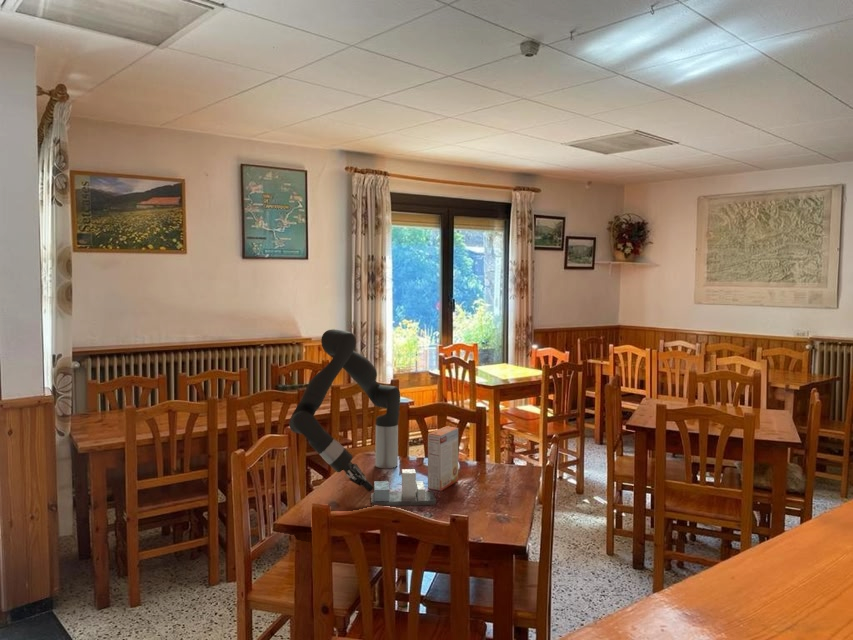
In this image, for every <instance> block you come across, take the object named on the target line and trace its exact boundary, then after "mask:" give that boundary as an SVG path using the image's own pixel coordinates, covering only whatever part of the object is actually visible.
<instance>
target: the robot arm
mask: <svg viewBox="0 0 853 640" xmlns="http://www.w3.org/2000/svg"><path fill="white" fill-rule="evenodd" d="M320 339H321V341H320V342H321V346H322V349H323V351H324V352H325V354H327V355H328V356H329V357H331V358H332V359H331V360H330V361H329V362H328V364H326V366H324V367H323V368H322V369H321V370H320V371H319V372H317V374H315V375H314V376H313V377H312V378H311V380H310V381H309V383H308V385H307V387H306V388H305V391H304V393H303V395H302V397H301V400H300V401H299V403H298V404H297V405H296V407H295V409H294V411H293V412H292V415H291V416H290V417H289V418H290V419H289V421H288V422H289V423H288V425H289V428H290V430H291V431H292V432H293V433H295V434H297V435H298V434H302V435H303V436H304V437H305V438H306V440H308V444H309V445H310V446H311V448H312V449H313V450H314V451H315V452H316V453H317V454H319V456H320V457H321V458H322V459H323V460H324V462H326V463H327V464H328V465H329V466H330V467H331V468H332V469H333V470H334V471H335V472H336V473H341V472H342V471H344V473H345V475H346V476H347V477H348V478H349V481H350V482H352V483H354V484H355V485H357V486H359V487H363V488H364V489H365V490H366V491H367V492H369V493H370V492H371V493H372V490H373V491H374V484H372V483H371V482H370V481H369V480H368V479H367V477H366V475H365V474H364V472H363V471H362V470H361V468H360V467H359V465H357V464H356V463H353V462H352V460H353V457H354V456H353V454H352V453H350V451H348V450H347V448H345V447H344V446H343V445H342V444H341V443H340V442H339V441H337V440H336V439H335V438H334V437H333V436H332V435H331V434H329V433H328V431H326V430H325V429H324V427H323V426H322V425H321V423H320V422H319V421H318V419H317V418H316V417H315V414H316V412H317V411H318V409H320V407H321V406H322V404H323V402H324V399H325V398H326V395H327V394H328V391H329V389H330V387H331V386H332V384H333V382H334V380H336V378H337V377H338V375H339V374H340V372H341V370H342V369H344V371H345V372H346V373H347V374H348V375H349V376H350V377H351V379H352V380H353V381H354V382H355V383H357V384H358V386H359V387H360V388H361V389H362V390H363V391H364V392H365V394H366V396H367V397H368V399H369V400H370V401H371V403H372V404H373V405H374V406H375V407H377V408H382V409H386V413H385V414H381V415H378V416H377V417H376V418H375V448H374V449H375V450H374V451H375V457H374V458H375V463H374V465H375V467H376V468H379V469H393V467H394V468H396V466H397V465H398V464H399V457H398V456H399V418H400V407H401V392H400V391H401V390H400V389H399V387H397V386H394V385H387V384H385V385H383V384H380V383H379V382H378V381H377V375H378V372H377V369H376V367H375V365H373V364H372V362H371V361H370V360H369V359H368V358H367V357H365V356H364V355H362V354H360V353H359V352H357V351H355V348H356V343H357V339H356V336H355V334H354V333H353V332H351V331H347V330H340V329H335V328H333V329H328V330H326V331H325V332H323V334H322V336H321V338H320ZM397 467H398V466H397Z"/></svg>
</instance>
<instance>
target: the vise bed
mask: <svg viewBox="0 0 853 640" xmlns="http://www.w3.org/2000/svg"><path fill="white" fill-rule="evenodd" d="M370 501H371V502H370V503H372V505H371V507H375V506H374V505H388V506H387V507H396V506H397V507H401V506H403V505H404V506H405V507H406V506H408V505H410V506H435V505H437V498H436V496H435V493H434V491H426V487H425V485H424V481H423V480H416V499H402V491H401V492H389V501H375V500H374V492H371V493H370ZM404 506H403V507H404Z"/></svg>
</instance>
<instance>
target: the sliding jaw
mask: <svg viewBox="0 0 853 640" xmlns="http://www.w3.org/2000/svg"><path fill="white" fill-rule="evenodd" d="M389 483H390V482H389V481H388V480H381V481H380V480H376V481H373V493H374V500H375V501H389V493H390V486H389V485H390V484H389Z"/></svg>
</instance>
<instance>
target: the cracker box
mask: <svg viewBox="0 0 853 640" xmlns="http://www.w3.org/2000/svg"><path fill="white" fill-rule="evenodd" d="M458 481H459V427H455V426H454V427H453V426H448V425H447V426H444V427H441V428H439V429H436V430H434V431H431V432H428V433H427V489H429V490H433V491H438V492H442V491H443V490H445V489H447V488H448V487H450V486H451V485H453V484H455V483H457V482H458Z"/></svg>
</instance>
